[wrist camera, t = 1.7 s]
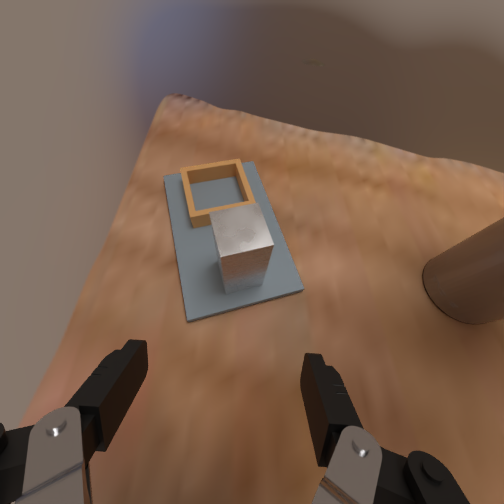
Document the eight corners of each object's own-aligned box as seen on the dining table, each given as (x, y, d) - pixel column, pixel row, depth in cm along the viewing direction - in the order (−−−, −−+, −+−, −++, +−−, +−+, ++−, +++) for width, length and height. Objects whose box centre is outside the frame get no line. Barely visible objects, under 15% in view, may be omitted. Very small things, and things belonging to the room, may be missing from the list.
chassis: (252, 166, 38) (253, 148, 35) (302, 291, 29) (310, 281, 26) (165, 180, 36) (158, 162, 33) (188, 322, 27) (182, 315, 24)
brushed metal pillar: (252, 252, 30) (258, 202, 21) (262, 284, 28) (274, 244, 19) (217, 260, 29) (208, 212, 20) (225, 294, 27) (220, 257, 18)
